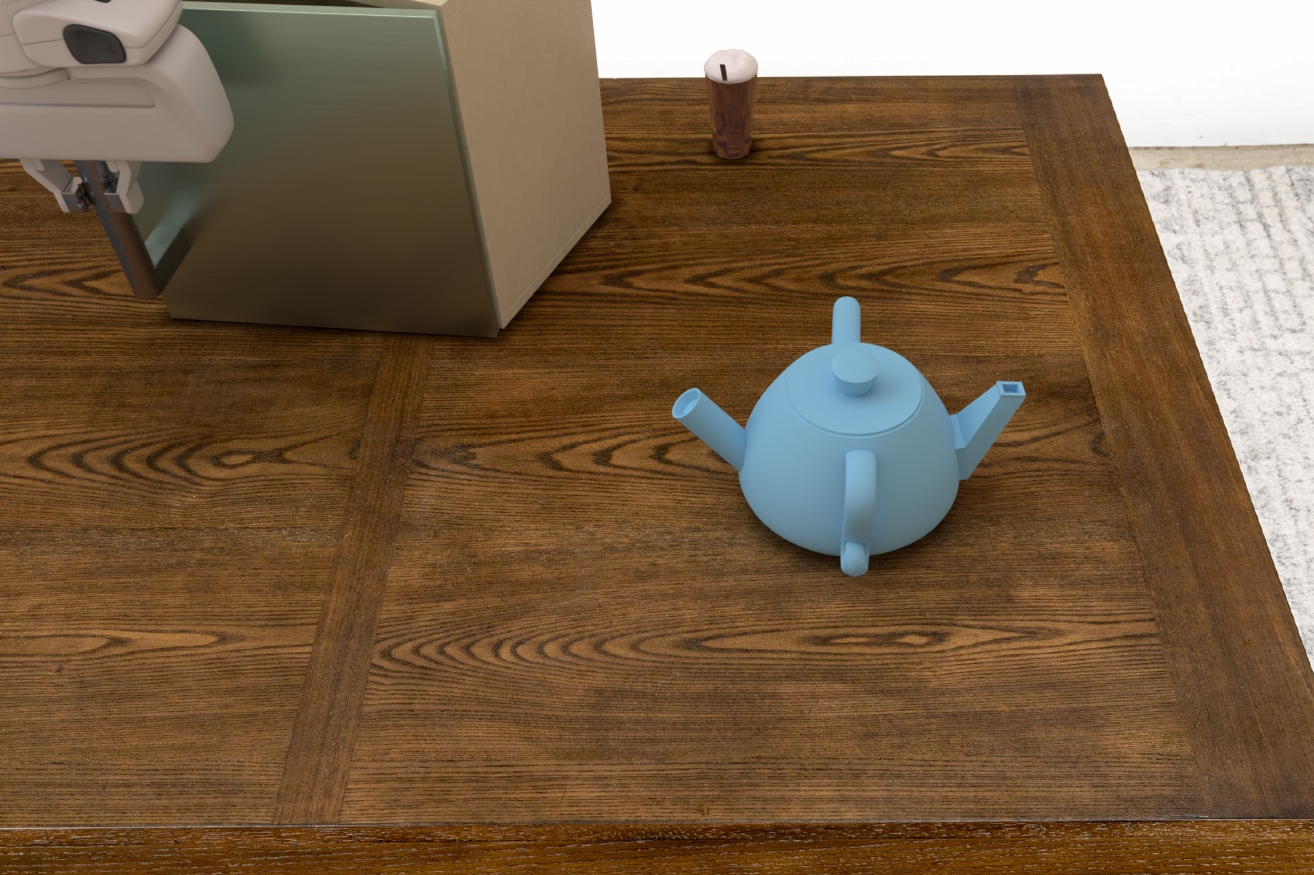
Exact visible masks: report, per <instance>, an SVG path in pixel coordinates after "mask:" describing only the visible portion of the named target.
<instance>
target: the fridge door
mask: <svg viewBox="0 0 1314 875" xmlns="http://www.w3.org/2000/svg"><path fill="white" fill-rule="evenodd" d="M182 5H183V11H182V14H181V16H180V18H179V20H178V22H177V24H179V25H181V26H183V27H185V28H187V29H188V30H189V31H191V32H192V33H193V34H194V35H195V36H196V37H197V38H198V39H199V40H200V42H201V43H202V45H203V46H204V48H205V49H206V51H207V53H208V55H209V57H210V59H211V61H212V63H213V65H214V67H215V69H216V72H217V74H218V76H219V79H220V81H221V83H222V86H223V88H224V91H225V93H226V96H227V99H228V101H229V104H230V107H231V110H232V113H233V118H234V128H233V131H232V134H231V136H230V138H229V140H228V142H227V144H226V145H225V147H224V148H223V150H222V151H221V153H220V154H219V155H218V157H217V158H216V159H215V160H214V161H212V162H209V163H196V162H149V161H142V163H141V167H140V171H139V175H138V178H137V182H138V185H139V187H140V190H141V192H142V194H143V197H144V203H143V205H142V207H141V209H140V210H139V212H138V213H137V214H125V213H113V212H112V210H111V204H110V203H109V202H108V201H107V199H106V197H105V194H104V193H105V192H106V190H107V189H108V188H109V187H110V186H112V185H111V183H112V181H113V180H114V178H119V175H120V172H119V171H118V172H111V171H110V170H109V168H108V165H107V163H106V161H99V160H72V163H73V164H74V167H75V168H76V171H77V173H78V175H79V177H81V180H82V182H83V184H84V186H85V188H86V191H87V193H88V195H89V197H90V199H91V201H92V207H93V208H94V211H95V212H96V215H97V217H98V219H99V221H100V223H101V225H102V228H103V230H104V231H105V234H106V237H107V238H108V240H109V243H110V246H111V248H112V249H113V251H114V253H115V256H116V258H117V260H118V262H119V264H120V267H121V269H122V271H123V274H124V275H125V278H126V280H127V282H128V284H129V286H130V289H131V290H132V293H133V295H134V297H135V298H136V299H138V300H140V301H149V300H153V299H156V298H157V297H159V296H161V298H162V301H163V303H164V305H165V307H166V309H167V312H168V315H169V316H170V318H171V319H177V320H178V319H180V320H195V321H197V320H198V321H213V322H214V321H215V322H228V323H229V322H230V323H244V324H260V325H261V324H263V325H278V326H279V325H280V326H293V327H295V326H296V327H312V328H327V329H328V328H330V329H343V330H344V329H345V330H359V331H361V330H363V331H377V332H391V333H392V332H396V333H409V334H412V333H413V334H427V335H428V334H429V335H441V336H442V335H445V336H461V337H476V338H477V337H479V338H492V339H493V338H494V339H496V338H498V334H499V332H500V328H499V326H498V320H497V315H496V310H495V305H494V300H493V295H492V290H491V285H490V280H489V275H488V269H487V264H486V259H485V254H484V249H483V244H482V239H481V234H480V229H479V223H478V218H477V213H476V208H475V203H474V198H473V193H472V188H471V183H470V178H469V172H468V167H467V162H466V157H465V152H464V147H463V142H462V137H461V132H460V127H459V121H458V116H457V111H456V106H455V101H454V96H453V91H452V86H451V81H450V76H449V70H448V65H447V60H446V55H445V50H444V45H443V40H442V35H441V30H440V25H439V19H438V14H437V10H421V9H392V8H364V7H335V6H306V5H278V4H249V3H221V2H192V1H182Z"/></svg>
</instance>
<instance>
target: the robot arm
mask: <svg viewBox="0 0 1314 875" xmlns="http://www.w3.org/2000/svg"><path fill="white" fill-rule="evenodd" d="M182 11H183V5H182V0H0V159H4V160H5V159H6V160H7V159H8V160H19V162H20V164H21V166H22V168H23V170H24V172H25V173H26V174H28V175H29V176H30V177H31V178H32V179H34V180H35V181H36V182H38V183H39V184H40V185H41V186H43V187H44V188H45V189H46V190H48V191H49V192H50V193H53V195H54V197H55V199H56V201H57V203H58V206H59V208H60V210H61V211H62V212H63V213H71V214H73V213H79V214H81V213H83V214H85V213H88V212H89V210H90V207H93V204H92V201H91V199H90V197H89V195H88V193H87V191H86V188H85V186H84V184H83V182H82V180H81V177H80V176H74V175H73V174H72V173H71V172H70V171H69V170H68V169H67V168H66V167H65V166H64V165H63V164H62V163H61V162H60V161H73V160H99V161H106V163H107V165H108V168H109V170H110V171H111V172H118V171H119V172H120V175H119V178H114V180H113V181H112V183H111V185H112V186H110V187H109V188H108V189H107V190H106V192H105V193H104V194H105V197H106V199H107V201H108V202H109V203H110V204H111V210H112V212H113V213H125V214H137V213H138V212H139V210H140V209H141V207H142V205H143V203H144V197H143V194H142V192H141V190H140V187H139V185H138V182H137V178H138V175H139V171H140V167H141V163H142V161H149V162H196V163H209V162H212V161H214V160H215V159H216V158H217V157H218V155H219V154H220V153H221V151H222V150H223V148H224V147H225V145H226V144H227V142H228V140H229V138H230V136H231V134H232V131H233V128H234V118H233V113H232V110H231V107H230V104H229V101H228V99H227V96H226V93H225V91H224V88H223V86H222V83H221V81H220V79H219V76H218V74H217V72H216V69H215V67H214V65H213V63H212V61H211V59H210V57H209V55H208V53H207V51H206V49H205V48H204V46H203V45H202V43H201V42H200V40H199V39H198V38H197V37H196V36H195V35H194V34H193V33H192V32H191V31H189V30H188V29H187V28H185V27H183V26H181V25H179V24H177V22H178V20H179V18H180V16H181V14H182Z"/></svg>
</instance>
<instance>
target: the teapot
mask: <svg viewBox="0 0 1314 875" xmlns="http://www.w3.org/2000/svg"><path fill="white" fill-rule="evenodd" d="M861 318H862V316H861V305H860V303H859V302H858V300H857V299H856V298H854V297H852V296H842V297H839V298H837V299H836V301H835V302H834V305H833V308H832V322H831V342H830V344H826V345H822V346H820V347H817V348H813V349H812V350H810V351H808V352H806V353H805V354H803V355H802V356H800V357H799V358H797V359H796V360H795V361H793V362H792V363H791V364H789V365H788V366H787V367H786V368H785V370H783V371H782V372H781V373H780V374H779V375H778V376H777V377H776V379H774V380H773V382H771V383H770V385H769V386H768V387H767V388H766V390H764V392H763V393H762V395H761V396H760V398H759V399H758V401H757V402H756V404H755V405H754V408H753V409H752V411H751V413H750V415H749V417H748V418H747V422H746V425H745V427H742V426H741V425H740V424H739V423H738V422H737V421H735V419H733V418H732V417H731V416H730V415H729V414H727V412H726V411H724V410H723V409H722V408H721V407H719V405H717V404H716V403H715V402H714V401H713V400H712V399H711V398H709V397H708V396H707V395H706V394H705V393H704V392H702V391H701V390H700V389H699V388H697V387H693V388H690V389H687V390H686V391H685V392H683V393H681V395H680V396H679V397H678V398H677V399H676V401H675V402H674V404H673V406H672V410H671V414H672V415H671V416H672V417H673V418H674V419H675V420H676V421H678V422H679V423H680V424H682V425H683V427H685V428H686V429H687V430H689V431H690V432H691V433H692V434H693V435H694V436H696V437H697V438H698V439H699V440H701V441H702V442H703V443H704V444H706V445H707V447H708V448H710V449H711V450H713V451H714V452H715V453H716V454H717V455H718V456H720V457H721V458H722V459H723V460H724V461H725V462H727V463H728V464H729V465H730V466H732V467H733V468H734V469H735V470H737V471H738V480H739V481H738V482H739V484H740V488H741V492H742V493H743V495H744V498H745V500H746V502H747V504H748V506H749V508H751V510H752V511H753V513H754V515H756V517H757V518H758V519H759V520H760V521H761V522H762V523H763V524H764V526H766V527H767V528H769V529H770V530H771V531H772V532H773V533H775V534H776V535H778V536H779V537H781V538H783V539H785V540H786V541H787V542H790V543H792V544H794V545H796V546H798V547H801V548H803V549H806V550H809V551H811V552H813V553H814V552H815V553H819V554H823V555H828V556H835V557H840V568H841V571H842V572H843V573H844V574H845V575H847V576H849V577H854V578H857V577H861V576H864V575H865V574H866V573H868V569H869V562H870V561H869V560H870V556H876V555H881V554H887V553H889V552H892V551H897V550H898V549H901V548H904V547H906V546H909V545H911V544H913V543H915V542H917V541H918V540H921V539H922V538H923V537H925V536H926V535H927V534H929V533H931V531H933V530H934V529H935V528H936V527H937V526H938V525H939V524H940V523H941V522H942V521H943V519H944V518H945V517H946V516H947V514H948V513H949V511H950V510H951V509H952V506H953V504H954V502H955V501H956V497H957V495H958V491H959V485H960V481H964V480H969V478H970V477H971V476H972V474H973V473H974V471H975V470H976V468H977V467H978V466H979V464H980V463H981V461H982V460H983V458H984V457H985V456H986V455H987V453H988V451H990V448H992V446H993V445H994V443H995V442H996V440H997V439H998V438H999V436H1000V435H1001V433H1002V432H1003V430H1004V429H1005V428H1006V426H1007V425H1008V424H1009V422H1010V421H1011V419H1012V418H1013V417H1014V415H1015V414H1016V412H1017V411H1018V409H1019V408H1020V406H1022V403H1023V402H1024V401H1025V399H1026V397H1027V393H1026V391H1025V388H1024V385H1023V382H1022V381H1009V380H1008V381H1005V380H1004V381H1002V380H996V383H995V384H994V385H993V386H992V387H990V388H988V390H987V391H985V392H983V393H982V394H981V395H979V397H977V398H976V399H974V400H973V401H972V402H970V403H969V404H968V405H967V406H965V407H964V408H962V409H961V410H959V412H957V413H956V414H950V415H949V412H948V410H947V408H946V406H945V405H944V403H943V401H942V400H941V398H940V397H939V395H938V394H937V392H936V391H935V389H934V387H933V386H932V385H931V384H930V382H929V381H928V380H927V379H926V377H925V376H924V375H923V374H922V373H921V371H920V370H919V369H917V367H916V366H915V365H913V363H912V362H910V361H909V360H908V359H907V358H905V357H904V356H902V355H901V354H899V353H898V352H896V351H894V350H891V349H889V348H886V347H884V346H880V345H877V344H872V343H866V342H861V326H862V325H861V323H862V322H861Z"/></svg>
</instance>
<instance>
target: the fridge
mask: <svg viewBox="0 0 1314 875" xmlns="http://www.w3.org/2000/svg"><path fill="white" fill-rule="evenodd" d="M182 1H192V2H221V3H249V4H278V5H306V6H335V7H364V8H392V9H421V10H437V14H438V19H439V25H440V30H441V35H442V40H443V45H444V50H445V55H446V60H447V65H448V70H449V76H450V81H451V86H452V91H453V96H454V101H455V106H456V111H457V116H458V121H459V127H460V132H461V137H462V142H463V147H464V152H465V157H466V162H467V167H468V172H469V178H470V183H471V188H472V193H473V198H474V203H475V208H476V213H477V218H478V223H479V229H480V234H481V239H482V244H483V249H484V254H485V259H486V264H487V269H488V275H489V280H490V285H491V290H492V295H493V300H494V305H495V310H496V315H497V320H498V326H499V329H501V330H503V329H505V328H506V327H507V326H508V324H509V323H510V322H511V321H512V319H514V317H515V316H516V315H517V314H518V313H519V311H520V310H521V309H522V308H523V307H524V306H525V304H526V303H527V302H528V301H529V299H530V298H531V297H532V296H533V295H534V294H535V293H536V291H537V290H538V289H539V288H541V286H542V285H543V283H544V282H545V281H546V280H547V279H548V278H549V276H550V275H551V274H552V273H553V272H554V270H555V269H556V268H557V267H558V265H559V264H560V263H561V262H562V261H563V260H564V259H565V258H566V256H567V255H568V254H569V253H570V252H571V250H572V249H573V248H574V247H575V246H576V244H578V242H579V241H580V240H581V239H582V238H583V236H584V235H585V234H586V233H587V232H588V231H589V229H590V228H591V227H592V226H593V225H594V223H595V222H596V221H597V220H598V218H600V216H601V215H602V214H603V213H604V212H605V211H606V209H607V208H608V207H609V206H610V205H611V203H612V196H611V195H612V194H611V186H610V184H611V183H610V174H609V164H608V156H607V145H606V136H605V124H604V115H603V106H602V95H601V87H600V76H599V66H598V55H597V47H596V36H595V28H594V27H595V26H594V19H593V18H594V17H593V7H592V0H182Z"/></svg>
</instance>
